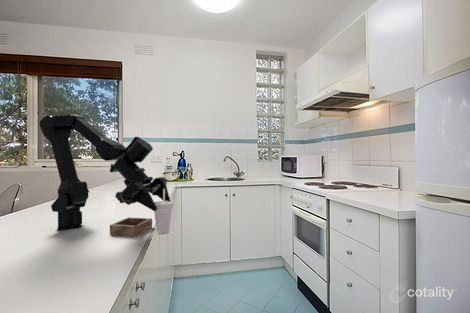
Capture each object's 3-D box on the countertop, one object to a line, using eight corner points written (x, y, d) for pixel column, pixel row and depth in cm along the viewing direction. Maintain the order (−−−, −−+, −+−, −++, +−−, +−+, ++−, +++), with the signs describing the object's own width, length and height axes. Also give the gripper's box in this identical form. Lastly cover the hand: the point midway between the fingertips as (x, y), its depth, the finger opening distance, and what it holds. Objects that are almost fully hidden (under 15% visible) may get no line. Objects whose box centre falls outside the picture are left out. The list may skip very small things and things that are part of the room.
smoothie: (177, 230, 77) (177, 188, 77) (165, 237, 71) (165, 191, 71) (161, 228, 79) (160, 187, 79) (148, 234, 73) (147, 190, 73)
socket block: (109, 234, 73) (109, 225, 73) (128, 225, 83) (128, 217, 82) (136, 236, 72) (136, 226, 72) (152, 227, 81) (152, 218, 81)
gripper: (133, 185, 87) (161, 216, 85) (95, 194, 69) (129, 233, 67) (152, 164, 86) (181, 195, 84) (118, 167, 67) (154, 206, 65)
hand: (163, 206), depth 75 cm, fingers open, 9 cm apart
